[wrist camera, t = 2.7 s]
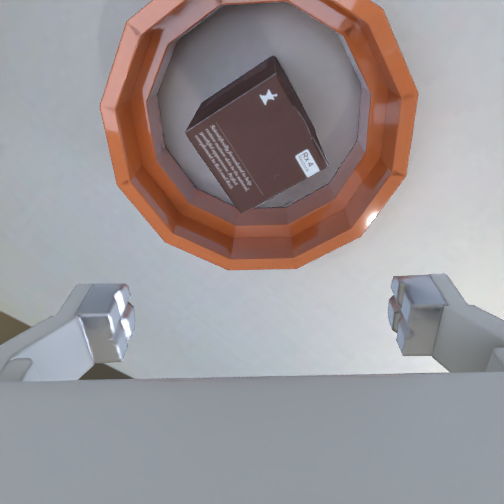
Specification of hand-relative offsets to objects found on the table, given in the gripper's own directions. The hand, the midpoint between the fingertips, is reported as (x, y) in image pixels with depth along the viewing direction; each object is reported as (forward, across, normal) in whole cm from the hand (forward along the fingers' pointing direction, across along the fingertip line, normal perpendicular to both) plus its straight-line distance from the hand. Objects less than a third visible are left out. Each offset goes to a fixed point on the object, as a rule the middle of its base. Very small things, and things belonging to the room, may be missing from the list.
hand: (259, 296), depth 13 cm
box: (+20, 0, -1) cm, 20 cm away
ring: (+20, 0, -1) cm, 20 cm away
